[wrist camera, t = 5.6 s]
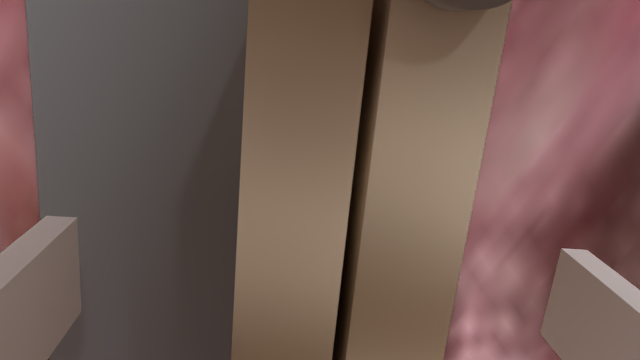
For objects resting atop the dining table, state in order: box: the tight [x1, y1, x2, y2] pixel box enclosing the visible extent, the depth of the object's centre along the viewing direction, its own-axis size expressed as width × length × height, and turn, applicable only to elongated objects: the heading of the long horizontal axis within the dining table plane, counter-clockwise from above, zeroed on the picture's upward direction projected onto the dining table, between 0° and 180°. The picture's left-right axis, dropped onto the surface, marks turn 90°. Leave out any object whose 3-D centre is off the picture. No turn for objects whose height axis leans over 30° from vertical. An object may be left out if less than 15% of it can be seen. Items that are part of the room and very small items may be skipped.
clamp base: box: [332, 0, 512, 360], centre depth 13 cm, size 18×2×8 cm, turn 174°
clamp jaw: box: [231, 0, 373, 360], centre depth 14 cm, size 16×2×7 cm, turn 175°
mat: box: [25, 0, 249, 360], centre depth 17 cm, size 19×13×1 cm
